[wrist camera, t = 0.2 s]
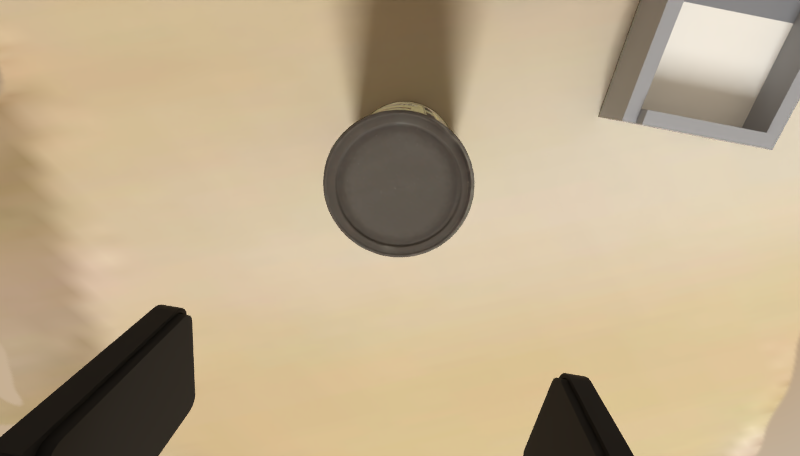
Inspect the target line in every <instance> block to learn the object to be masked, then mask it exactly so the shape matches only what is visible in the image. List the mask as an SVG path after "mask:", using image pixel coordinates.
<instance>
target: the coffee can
mask: <svg viewBox="0 0 800 456" xmlns="http://www.w3.org/2000/svg"><path fill="white" fill-rule="evenodd" d="M323 186H324V196H325V200H326V204H327V207H328V209H329V212H330V214H331V216H332V218H333V220H334V221H335V222H336V224H337V225H338V227H339V228H340V229H341V231H342V232H343V233H344V234H345V235H346V236H347V237H348V238H349V239H351V240H352V241H353V242H355V243H356V244H357V245H359V246H360V247H362V248H364V249H366V250H368V251H371V252H374V253H376V254H379V255H383V256H390V257H410V256H416V255H420V254H423V253H426V252H429V251H431V250H433V249H435V248H437V247H439V246H440V245H442V244H443V243H445V242H446V241H447V240H449V239H450V238H451V237H452V236H453V235H454V234H455V233H456V232H457V230H458V229H459V228H460V227H461V225H462V224H463V222H464V220H465V219H466V217H467V215H468V213H469V210H470V207H471V204H472V200H473V195H474V173H473V168H472V164H471V161H470V159H469V156H468V153H467V151H466V149H465V147H464V146H463V144H462V143H461V141H460V140H459V139H458V137H457V136H456V135H455V134H454V133H453V132H452V131H451V130H450V129H449V128H448V127H447V125H446V123H445V122H444V121H443V120H442V118H441V117H440V116H439V115H438V114H437V113H436V112H434V111H433V110H431V109H430V108H428V107H426V106H424V105H421V104H418V103H415V102H396V103H391V104H388V105H386V106H383V107H381V108H379V109H378V110H376V111H375V112H374V113H372V114H371V115H368V116H366V117H364V118H362V119H360V120H359V121H357V122H356V123H354V124H353V125H352V126H350V127H349V128H348V129H347V130H346V131H345V132H344V133H343V134H342V135H341V136H340V137H339V138H338V140H337V141H336V143H335V144H334V145H333V147H332V149H331V151H330V153H329V156H328V158H327V161H326V165H325V170H324V179H323Z"/></svg>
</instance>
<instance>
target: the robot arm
mask: <svg viewBox="0 0 800 456" xmlns="http://www.w3.org/2000/svg"><path fill="white" fill-rule="evenodd" d="M194 399H195V382H194V357H193V333H192V318H191V316H189V315H187V314H186V311H185V309H183V308H178V307H172V306H166V305H158V306H156V307H154V308H153V309H152V310H151V311H150V312H148V313H147V314H146V315H145V316H144V317H142V318H141V319H140V320H139V321H138V322H137V323H135V324H134V325H133V326H132V327H131V328H129V329H128V330H127V331H126V332H125V333H123V334H122V335H121V336H120V337H119V338H118V339H116V340H115V341H114V342H113V343H112V344H110V345H109V346H108V347H107V348H106V349H104V350H103V351H102V352H101V353H100V354H99V355H97V356H96V357H95V358H94V359H93V360H91V361H90V362H89V363H88V364H87V365H85V366H84V367H83V368H82V369H81V370H79V371H78V372H77V373H76V374H75V375H74V376H72V377H71V378H70V379H69V380H68V381H66V382H65V383H64V384H63V385H62V386H60V387H59V388H58V389H57V390H56V391H55V392H53V393H52V394H51V395H50V396H49V397H47V398H46V399H45V400H44V401H43V402H41V403H40V404H39V405H38V406H37V407H36V408H34V409H33V410H32V411H31V412H30V413H28V414H27V415H26V416H25V417H24V418H22V419H21V420H20V421H19V422H18V423H17V424H15V425H14V426H13V427H12V428H11V429H10V430H8V431H7V432H6V433H5V434H3V435H2V436H1V437H0V456H158V455H159V454H160V453H161V451H162V450H163V448H164V447H165V446H166V444H167V443H168V441H169V440H170V438H171V437H172V436H173V434H174V433H175V431H176V430H177V428H178V427H179V426H180V424H181V423H182V421H183V420H184V418H185V417H186V416H187V414H188V413H189V411H190V410H191V408H192V406H193V403H194ZM523 456H634V455H633V453H632V452H631V450H630V448H629V446H628V445H627V443H626V441H625V440H624V438H623V436H622V434H621V433H620V431H619V429H618V427H617V426H616V424H615V422H614V421H613V419H612V417H611V415H610V414H609V412H608V410H607V408H606V407H605V405H604V403H603V402H602V400H601V398H600V396H599V395H598V393H597V391H596V390H595V388H594V386H593V384H592V383H591V381H590V380H589V378H587V377H585V376H579V375H573V374H567V373H563V374H561V375H560V377H559V378H554V379H553V381H552V383H551V386H550V388H549V391H548V393H547V396H546V398H545V400H544V403H543V405H542V408H541V410H540V413H539V415H538V418H537V420H536V423H535V425H534V428H533V430H532V432H531V435H530V437H529V440H528V442H527V445H526V447H525V450H524V455H523Z"/></svg>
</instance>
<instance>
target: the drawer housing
mask: <svg viewBox="0 0 800 456" xmlns="http://www.w3.org/2000/svg"><path fill="white" fill-rule="evenodd" d="M799 99H800V0H640V2H639V5H638V8H637V11H636V13H635V16H634V19H633V22H632V25H631V27H630V30H629V33H628V36H627V39H626V41H625V44H624V47H623V50H622V52H621V55H620V58H619V61H618V64H617V66H616V69H615V72H614V75H613V78H612V80H611V83H610V86H609V89H608V91H607V94H606V97H605V100H604V103H603V105H602V108H601V111H600V114H599V117H602V118H607V119H612V120H618V121H623V122H628V123H633V124H638V125H643V126H649V127H654V128H659V129H664V130H669V131H674V132H680V133H685V134H690V135H695V136H700V137H705V138H711V139H716V140H721V141H726V142H731V143H737V144H742V145H748V146H753V147H759V148H764V149H770V150H772V149H773V147H774V146H775V144H776V142H777V140H778V138H779V136H780V134H781V133H782V131H783V129H784V127H785V125H786V123H787V121H788V120H789V118H790V116H791V114H792V112H793V110H794V108H795V107H796V105H797V103H798V101H799Z"/></svg>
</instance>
